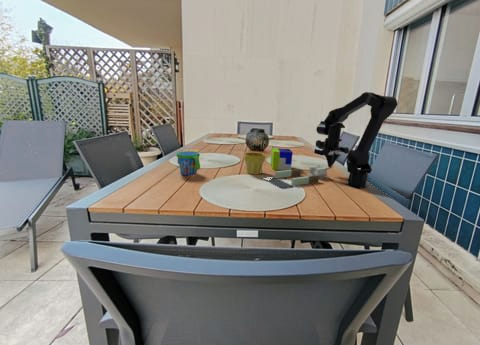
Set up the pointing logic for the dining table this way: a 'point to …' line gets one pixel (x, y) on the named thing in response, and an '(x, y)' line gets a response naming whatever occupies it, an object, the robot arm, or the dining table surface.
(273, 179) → the trap pit mat
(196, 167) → the snack cup
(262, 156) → the plant pot
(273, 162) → the puzzle toy
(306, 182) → the lane rails
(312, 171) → the grey block
